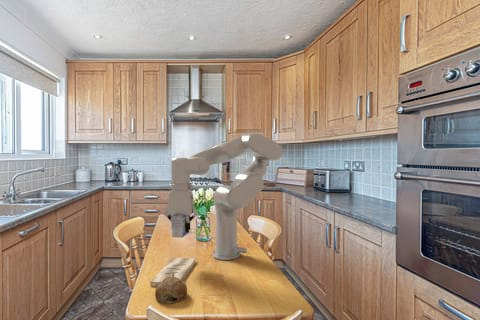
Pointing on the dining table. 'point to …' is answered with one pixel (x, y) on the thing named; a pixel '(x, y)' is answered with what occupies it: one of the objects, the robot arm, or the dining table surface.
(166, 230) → the dining table surface
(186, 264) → the board
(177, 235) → the medicine box
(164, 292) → the bread roll
